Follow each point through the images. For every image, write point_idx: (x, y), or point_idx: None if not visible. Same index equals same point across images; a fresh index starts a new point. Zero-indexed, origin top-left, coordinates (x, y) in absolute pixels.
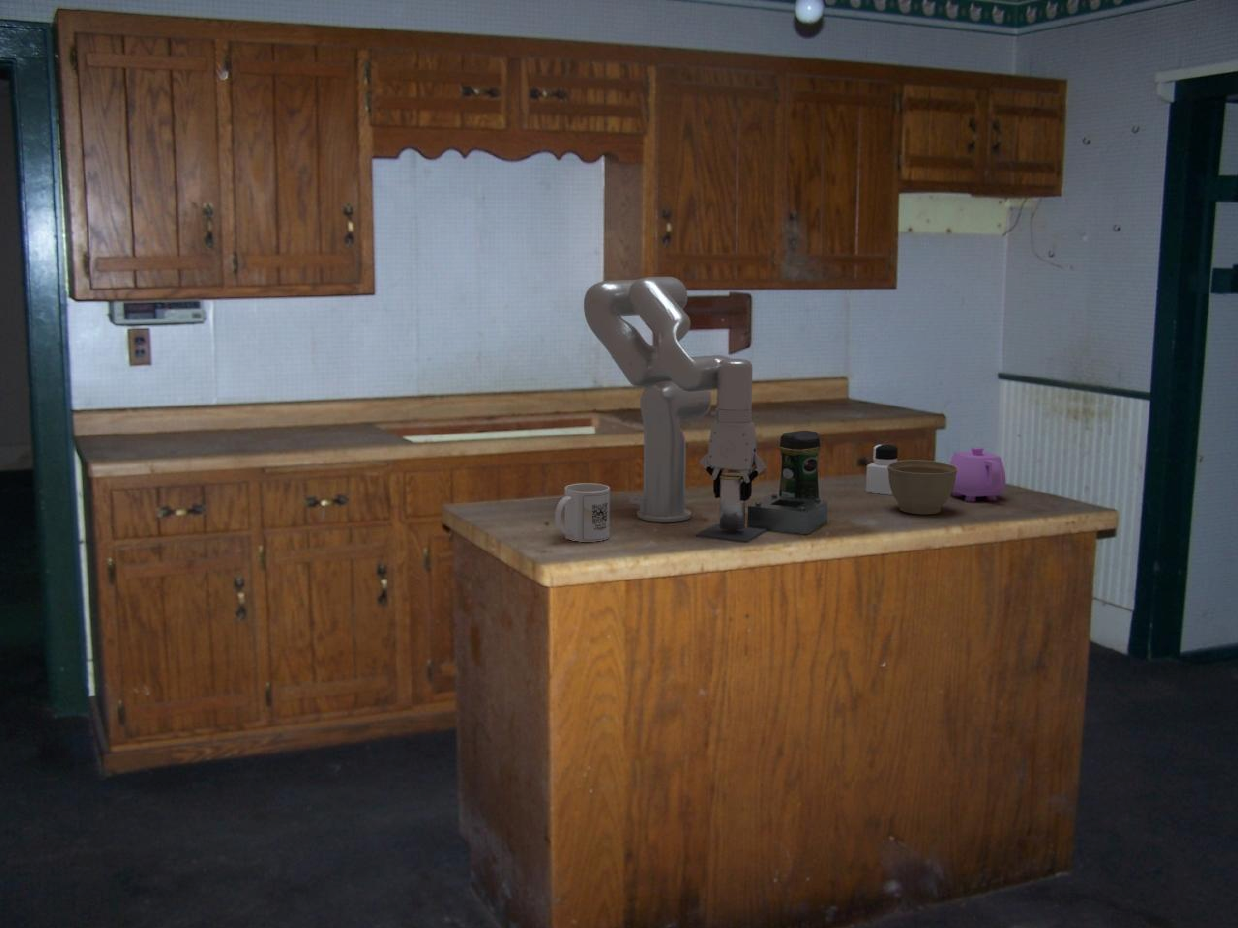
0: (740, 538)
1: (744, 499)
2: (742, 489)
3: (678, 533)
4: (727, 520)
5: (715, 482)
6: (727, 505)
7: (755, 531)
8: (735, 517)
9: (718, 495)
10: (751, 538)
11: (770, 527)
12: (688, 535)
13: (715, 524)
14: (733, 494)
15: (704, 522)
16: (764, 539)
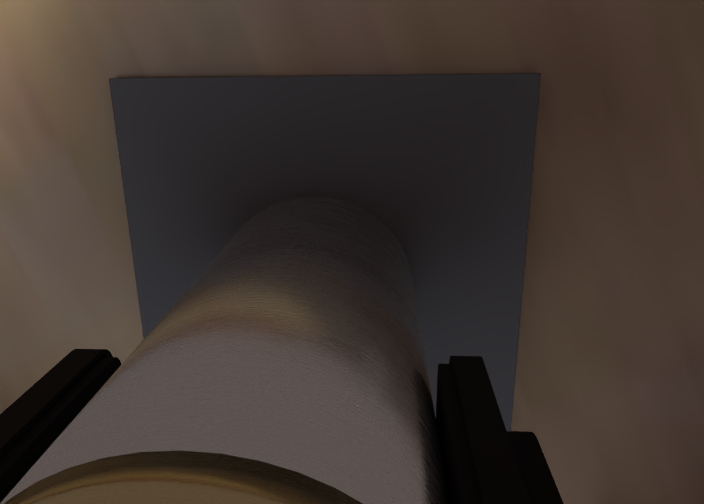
0: (183, 123)
1: (73, 353)
2: (29, 431)
3: (695, 101)
4: (302, 214)
5: (514, 489)
6: (279, 255)
7: None
8: (229, 243)
9: (439, 388)
10: (122, 169)
11: None
12: (598, 76)
13: (507, 424)
14: (168, 328)
15: (609, 480)
16: (66, 228)
